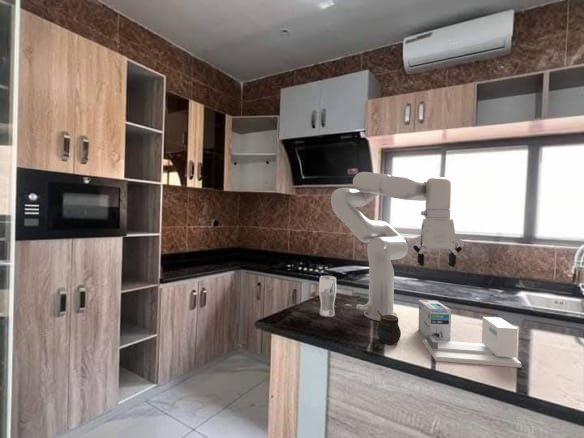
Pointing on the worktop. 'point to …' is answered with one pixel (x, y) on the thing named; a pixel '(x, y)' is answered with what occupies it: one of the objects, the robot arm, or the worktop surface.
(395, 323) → the mate gourd
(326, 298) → the beer glass
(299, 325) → the worktop surface
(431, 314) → the light bulb box
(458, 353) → the mounting plate
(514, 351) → the mounted module
